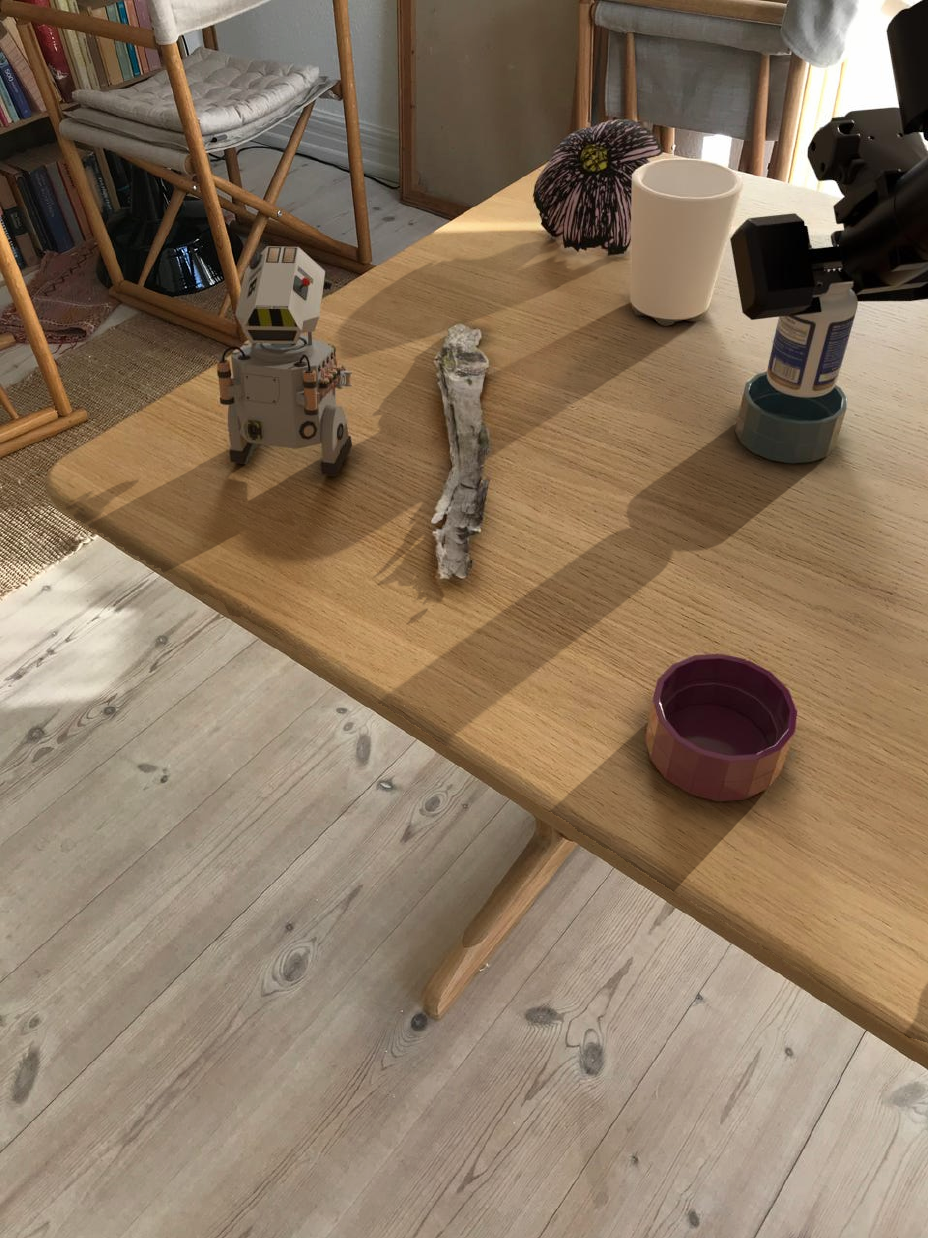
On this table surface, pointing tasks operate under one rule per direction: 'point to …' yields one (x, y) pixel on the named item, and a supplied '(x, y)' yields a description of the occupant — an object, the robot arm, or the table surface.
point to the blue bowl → (789, 422)
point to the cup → (679, 235)
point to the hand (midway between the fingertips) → (810, 298)
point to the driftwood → (462, 449)
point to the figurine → (284, 363)
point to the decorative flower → (594, 184)
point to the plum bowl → (720, 726)
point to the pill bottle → (813, 345)
